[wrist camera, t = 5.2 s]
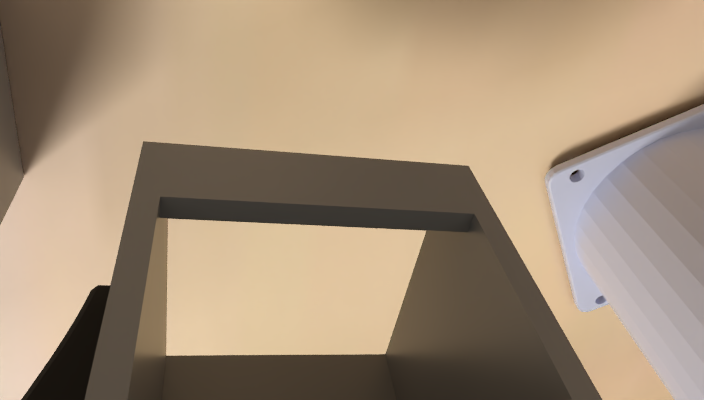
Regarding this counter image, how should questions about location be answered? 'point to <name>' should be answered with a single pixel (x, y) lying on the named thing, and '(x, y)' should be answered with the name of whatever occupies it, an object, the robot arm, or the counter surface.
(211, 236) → the counter surface
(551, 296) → the counter surface
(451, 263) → the grey hollow cube
